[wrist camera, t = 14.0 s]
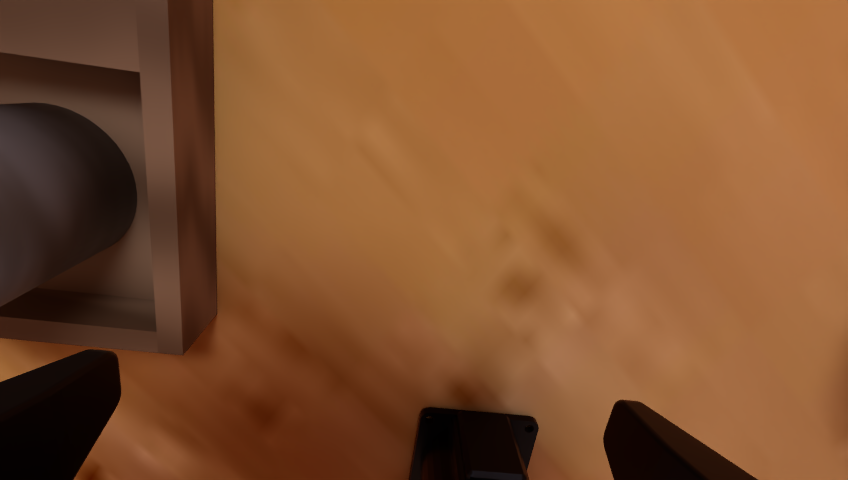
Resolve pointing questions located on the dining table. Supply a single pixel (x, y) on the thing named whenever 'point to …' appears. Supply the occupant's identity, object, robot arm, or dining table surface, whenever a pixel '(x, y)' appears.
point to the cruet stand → (107, 173)
